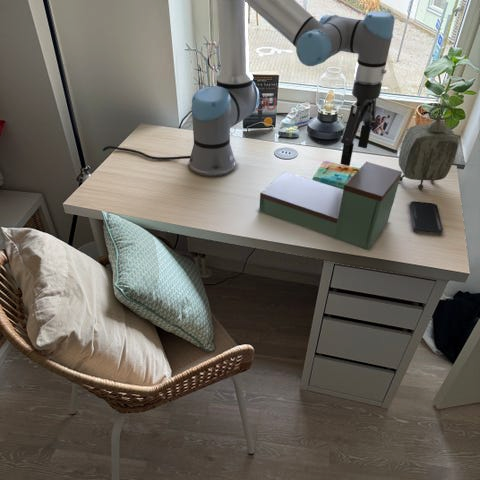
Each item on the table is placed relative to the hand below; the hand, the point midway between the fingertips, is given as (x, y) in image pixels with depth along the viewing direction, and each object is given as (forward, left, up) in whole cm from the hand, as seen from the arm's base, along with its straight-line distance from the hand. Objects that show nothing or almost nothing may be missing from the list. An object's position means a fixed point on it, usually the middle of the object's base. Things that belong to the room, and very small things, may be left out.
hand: (353, 155), depth 141 cm
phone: (+26, -5, -10) cm, 29 cm away
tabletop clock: (+19, +13, -11) cm, 25 cm away
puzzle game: (0, 0, -11) cm, 11 cm away
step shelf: (+1, -20, -10) cm, 23 cm away
